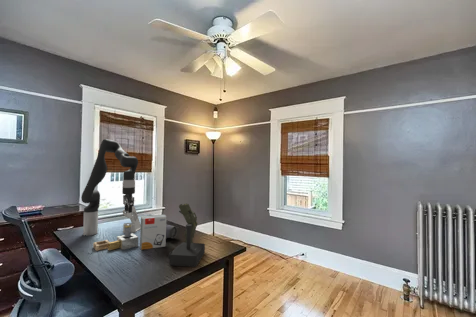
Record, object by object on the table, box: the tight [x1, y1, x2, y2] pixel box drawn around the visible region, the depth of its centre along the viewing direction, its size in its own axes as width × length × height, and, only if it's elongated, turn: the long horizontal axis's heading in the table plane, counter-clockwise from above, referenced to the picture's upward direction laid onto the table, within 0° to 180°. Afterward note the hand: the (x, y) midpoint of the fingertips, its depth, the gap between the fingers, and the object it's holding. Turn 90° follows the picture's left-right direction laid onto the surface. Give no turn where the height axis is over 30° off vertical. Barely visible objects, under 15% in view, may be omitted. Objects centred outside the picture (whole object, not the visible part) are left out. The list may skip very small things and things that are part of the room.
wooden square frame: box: [92, 239, 110, 252], centre depth 148 cm, size 8×8×3 cm
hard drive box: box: [139, 214, 167, 251], centre depth 151 cm, size 16×8×20 cm, turn 117°
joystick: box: [167, 223, 206, 268], centre depth 132 cm, size 19×17×20 cm
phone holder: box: [122, 205, 141, 234], centre depth 187 cm, size 17×10×18 cm, turn 177°
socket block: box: [116, 233, 139, 251], centre depth 151 cm, size 10×10×6 cm
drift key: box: [107, 240, 120, 251], centre depth 146 cm, size 2×9×4 cm, turn 135°
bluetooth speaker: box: [166, 224, 178, 240], centre depth 169 cm, size 23×9×10 cm, turn 68°
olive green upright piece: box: [178, 203, 198, 243], centre depth 150 cm, size 14×7×30 cm, turn 71°
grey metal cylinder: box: [124, 224, 132, 239], centre depth 151 cm, size 4×4×14 cm
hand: (128, 211), depth 151 cm, fingers open, 6 cm apart
